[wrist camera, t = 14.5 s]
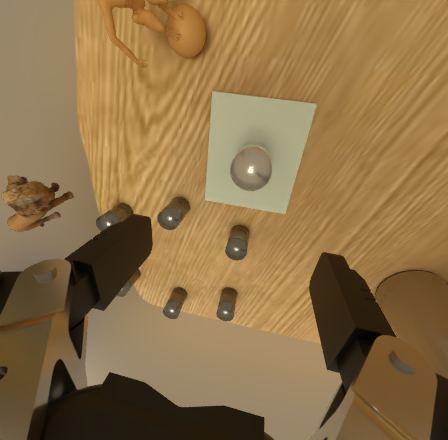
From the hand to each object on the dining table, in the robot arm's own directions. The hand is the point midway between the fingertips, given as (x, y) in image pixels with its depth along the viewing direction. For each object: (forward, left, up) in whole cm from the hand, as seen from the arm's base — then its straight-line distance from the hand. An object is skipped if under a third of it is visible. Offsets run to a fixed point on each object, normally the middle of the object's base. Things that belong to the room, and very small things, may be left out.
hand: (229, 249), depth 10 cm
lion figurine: (+33, +12, -21) cm, 41 cm away
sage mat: (0, 0, -21) cm, 21 cm away
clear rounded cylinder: (0, 0, -20) cm, 20 cm away
